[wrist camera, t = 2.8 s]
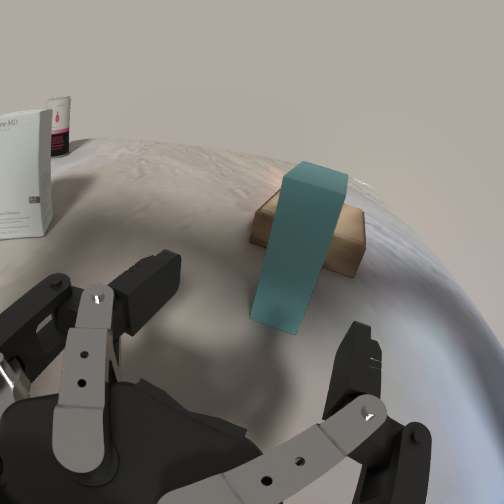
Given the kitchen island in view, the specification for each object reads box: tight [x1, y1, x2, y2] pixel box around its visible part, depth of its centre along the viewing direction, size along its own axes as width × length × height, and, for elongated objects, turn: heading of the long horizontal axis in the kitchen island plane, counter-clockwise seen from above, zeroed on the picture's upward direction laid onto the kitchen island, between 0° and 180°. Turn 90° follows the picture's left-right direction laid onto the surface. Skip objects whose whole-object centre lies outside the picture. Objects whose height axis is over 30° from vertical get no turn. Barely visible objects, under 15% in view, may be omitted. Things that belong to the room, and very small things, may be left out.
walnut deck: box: [250, 188, 366, 278], centre depth 37 cm, size 13×13×4 cm
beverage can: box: [46, 96, 71, 158], centre depth 52 cm, size 6×7×15 cm
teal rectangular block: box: [250, 161, 348, 335], centre depth 23 cm, size 4×7×12 cm, turn 159°
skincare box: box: [0, 109, 53, 240], centre depth 24 cm, size 8×6×15 cm
